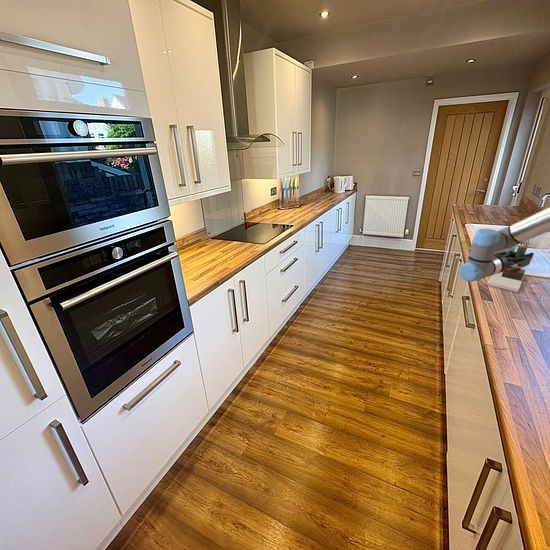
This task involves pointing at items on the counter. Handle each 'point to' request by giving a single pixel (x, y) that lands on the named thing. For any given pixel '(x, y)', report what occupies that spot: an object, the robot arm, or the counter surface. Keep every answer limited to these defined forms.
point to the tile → (504, 282)
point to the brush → (513, 272)
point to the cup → (509, 249)
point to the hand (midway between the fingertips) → (526, 254)
